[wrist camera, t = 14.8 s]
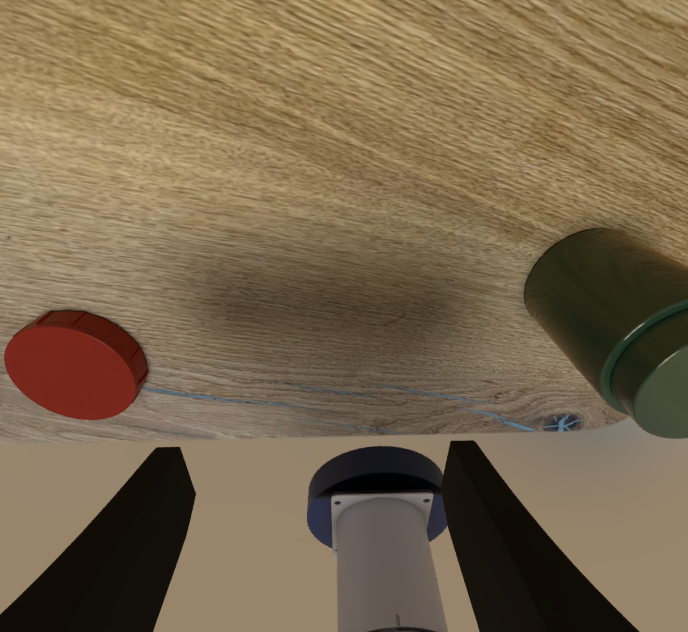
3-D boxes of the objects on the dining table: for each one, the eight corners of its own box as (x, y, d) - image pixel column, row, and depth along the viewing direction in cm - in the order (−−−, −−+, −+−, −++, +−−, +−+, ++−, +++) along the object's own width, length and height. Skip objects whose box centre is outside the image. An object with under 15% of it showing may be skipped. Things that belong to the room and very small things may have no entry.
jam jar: (616, 326, 19) (752, 442, 13) (513, 330, 19) (600, 448, 13) (659, 226, 16) (856, 311, 10) (539, 230, 16) (664, 318, 10)
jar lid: (130, 310, 18) (116, 326, 17) (159, 400, 21) (148, 419, 20) (4, 309, 18) (-20, 326, 16) (51, 400, 21) (34, 420, 19)
